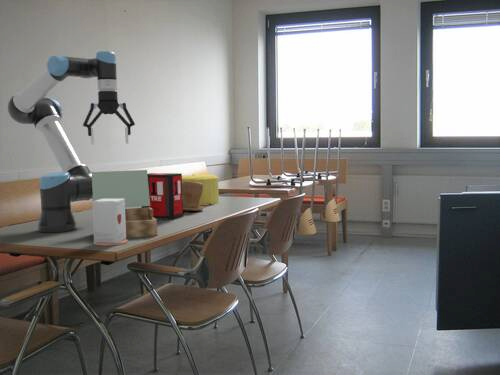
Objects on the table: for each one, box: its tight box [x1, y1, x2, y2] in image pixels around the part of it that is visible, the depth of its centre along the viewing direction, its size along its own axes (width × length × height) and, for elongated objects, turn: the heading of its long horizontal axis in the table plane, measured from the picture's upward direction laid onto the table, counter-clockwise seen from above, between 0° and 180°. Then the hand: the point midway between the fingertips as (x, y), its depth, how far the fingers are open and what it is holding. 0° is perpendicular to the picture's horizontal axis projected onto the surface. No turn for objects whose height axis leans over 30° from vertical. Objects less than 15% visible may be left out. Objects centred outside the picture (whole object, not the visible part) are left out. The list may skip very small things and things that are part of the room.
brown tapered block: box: [182, 181, 204, 212], centre depth 288 cm, size 15×12×15 cm
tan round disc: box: [93, 238, 129, 247], centre depth 210 cm, size 12×12×1 cm
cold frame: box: [125, 207, 158, 239], centre depth 226 cm, size 22×15×9 cm
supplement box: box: [92, 199, 127, 243], centre depth 209 cm, size 9×9×15 cm
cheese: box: [182, 173, 220, 206], centre depth 319 cm, size 26×26×15 cm
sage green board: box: [90, 169, 150, 208], centre depth 234 cm, size 22×15×1 cm
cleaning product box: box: [140, 172, 184, 220], centre depth 267 cm, size 16×9×20 cm, turn 69°
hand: (110, 144), depth 237 cm, fingers open, 13 cm apart
